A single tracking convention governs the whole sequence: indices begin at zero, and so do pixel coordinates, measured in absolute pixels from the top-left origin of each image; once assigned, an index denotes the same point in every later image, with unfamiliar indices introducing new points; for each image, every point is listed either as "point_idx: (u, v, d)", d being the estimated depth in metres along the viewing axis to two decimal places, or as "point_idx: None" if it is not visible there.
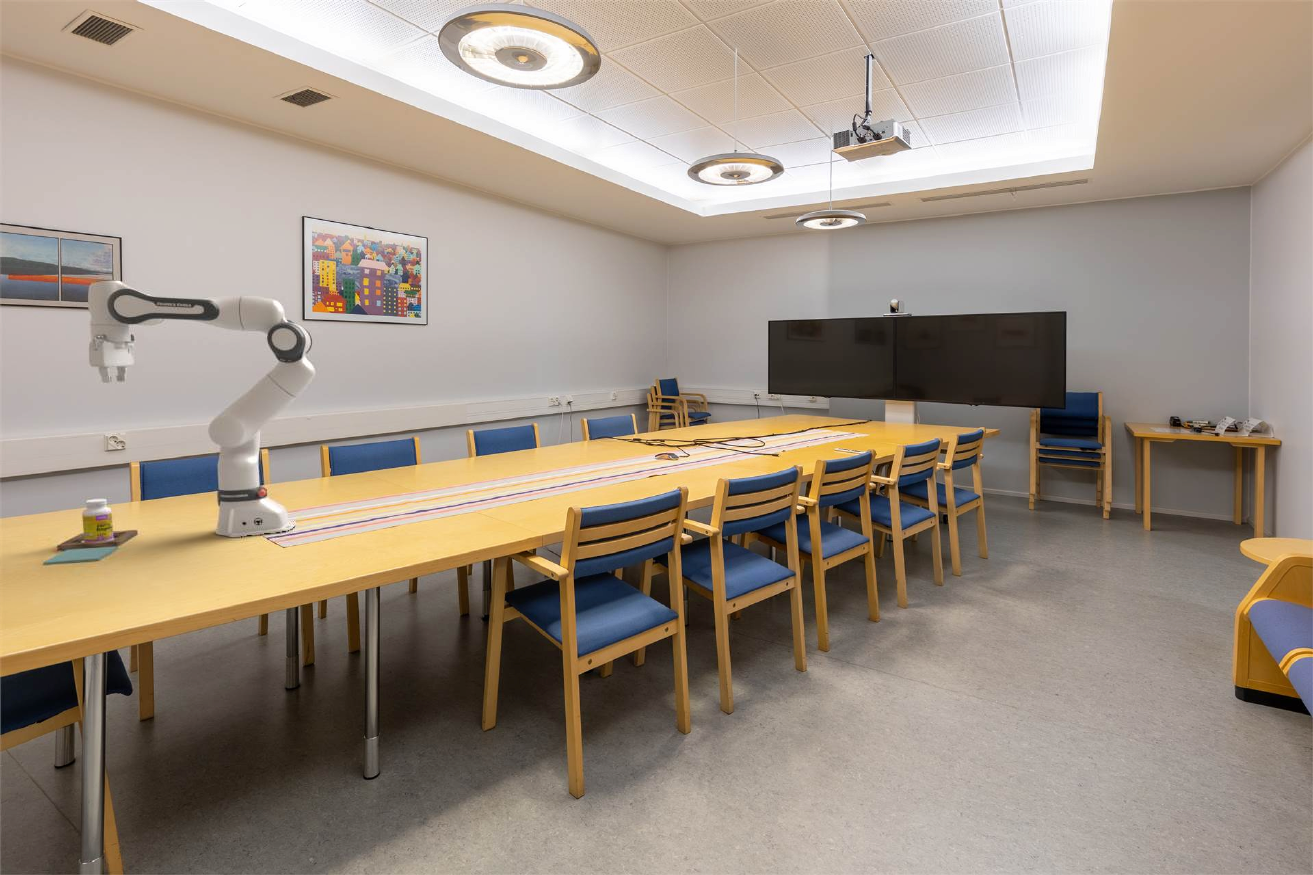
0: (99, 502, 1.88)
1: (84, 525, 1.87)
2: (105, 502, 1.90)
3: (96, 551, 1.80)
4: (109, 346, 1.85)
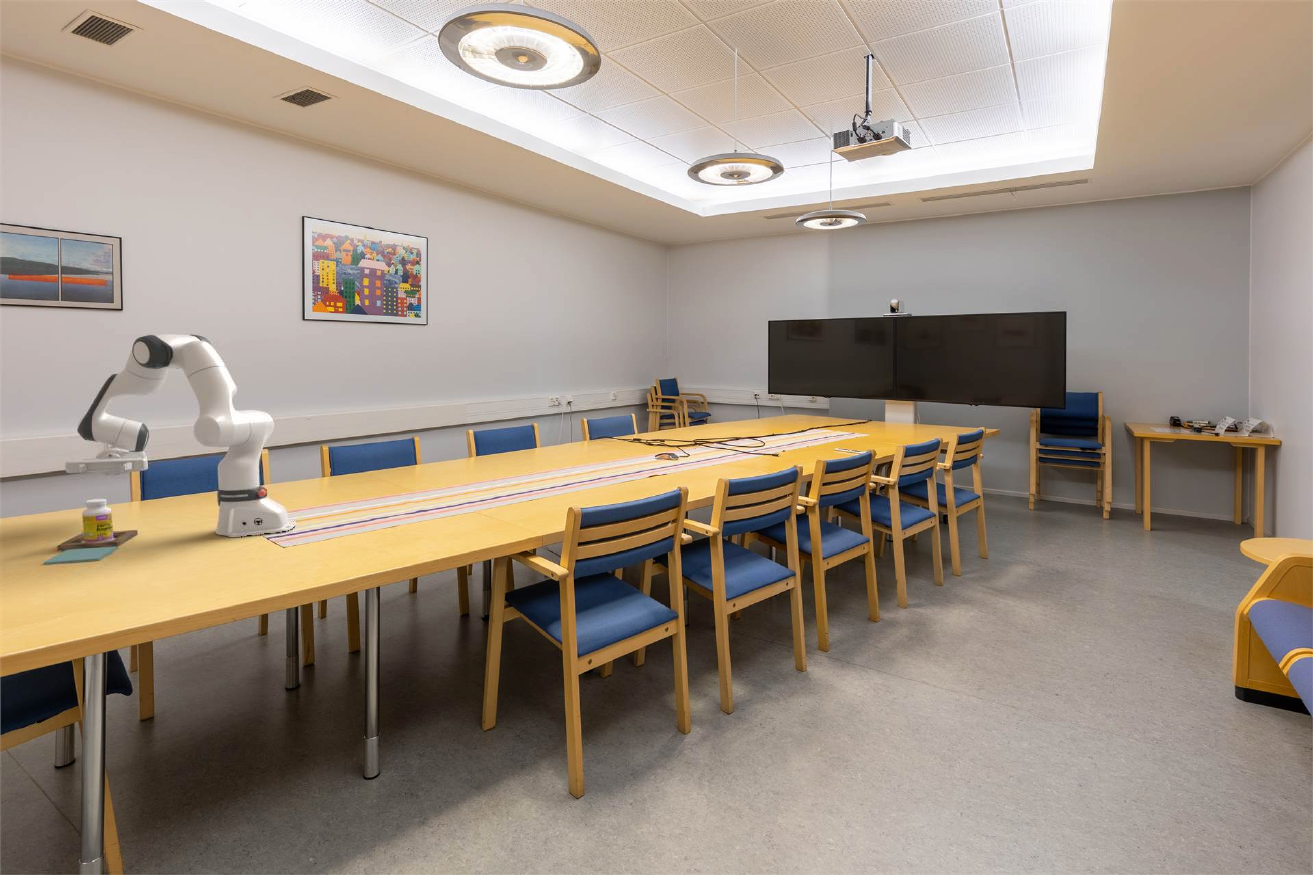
0: (99, 502, 1.88)
1: (84, 525, 1.87)
2: (105, 502, 1.90)
3: (96, 551, 1.80)
4: (86, 458, 2.04)
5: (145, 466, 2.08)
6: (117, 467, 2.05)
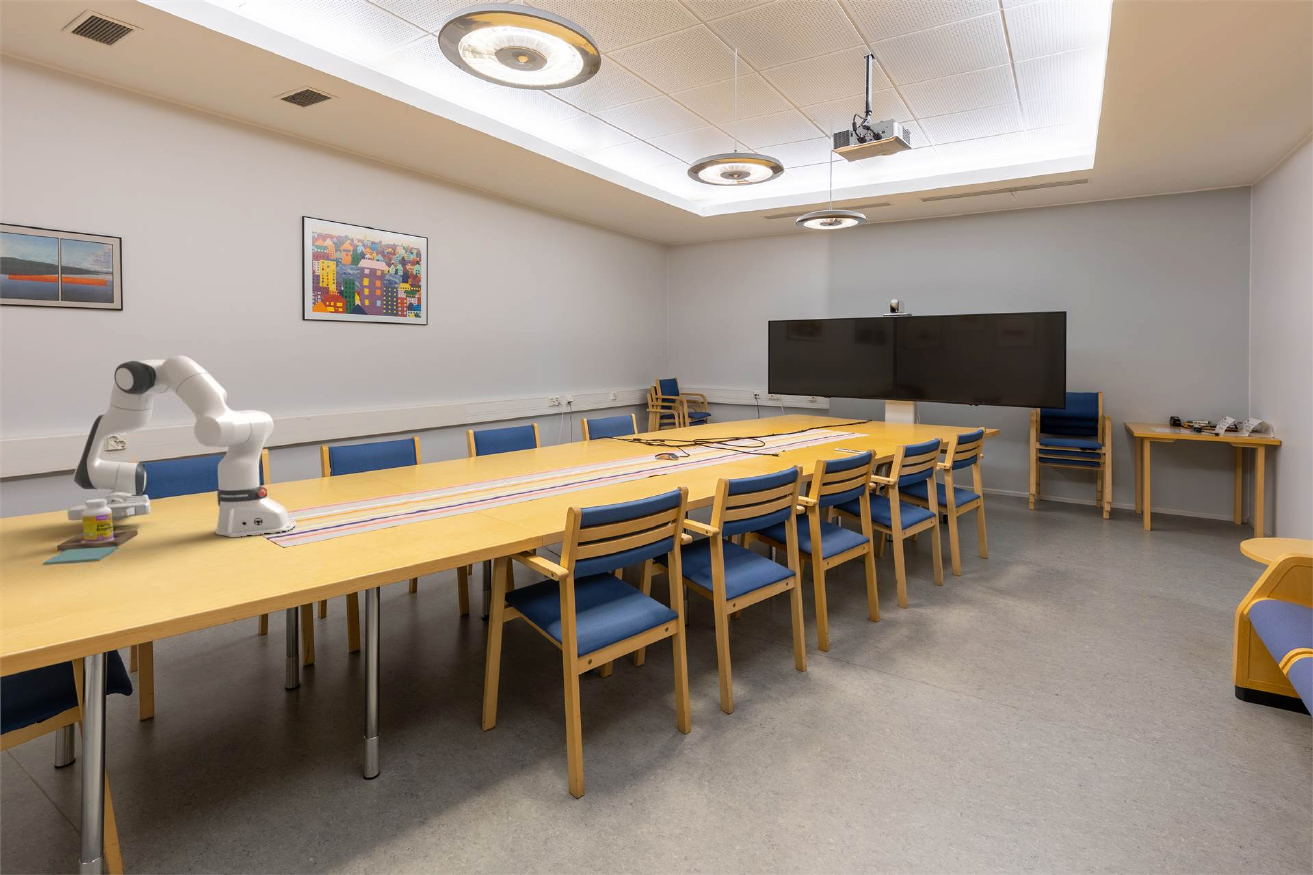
0: (99, 502, 1.88)
1: (84, 525, 1.87)
2: (105, 502, 1.90)
3: (96, 551, 1.80)
4: None
5: (148, 510, 2.07)
6: (120, 512, 2.03)
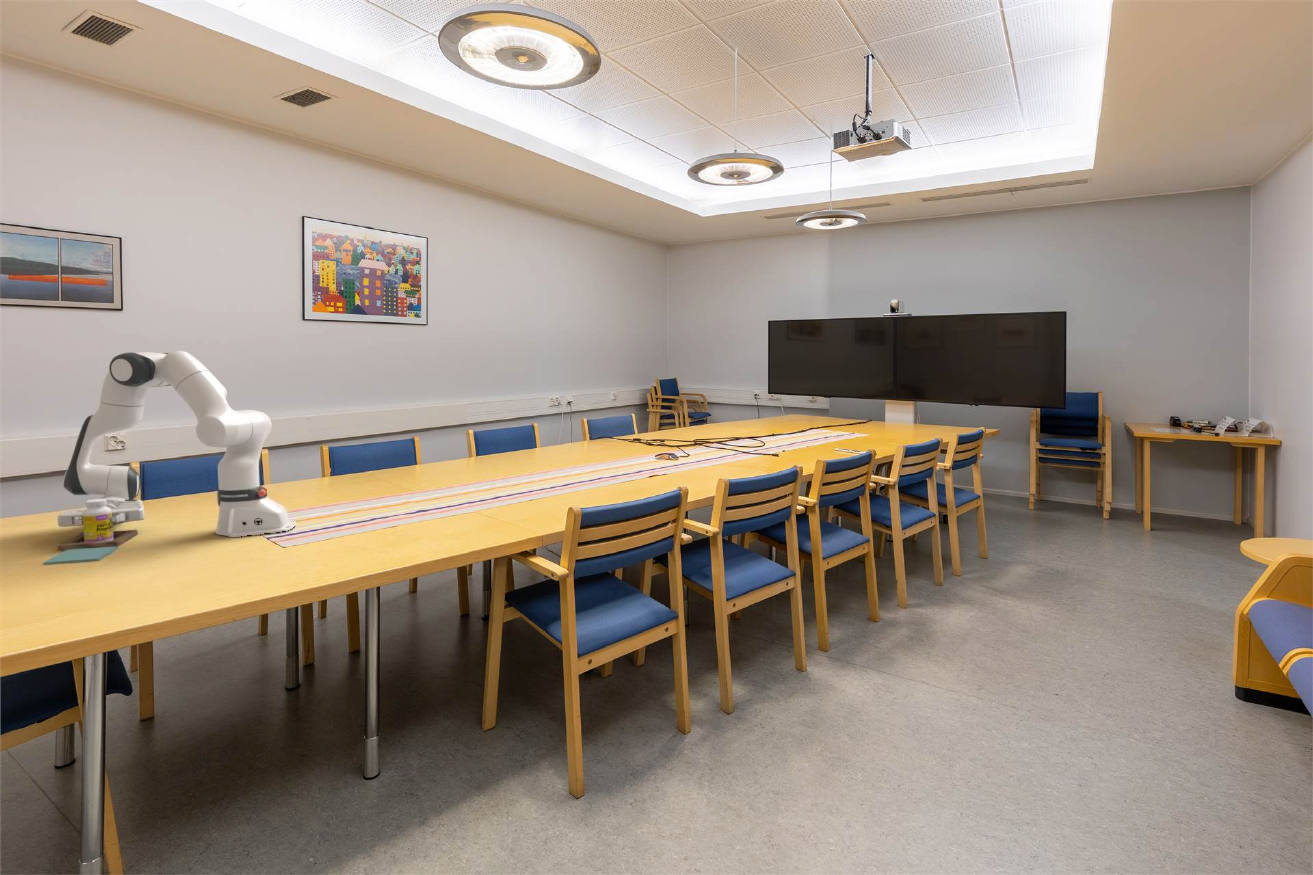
0: (99, 502, 1.88)
1: (84, 525, 1.87)
2: (105, 502, 1.90)
3: (96, 551, 1.80)
4: (79, 510, 1.95)
5: (141, 516, 1.99)
6: None
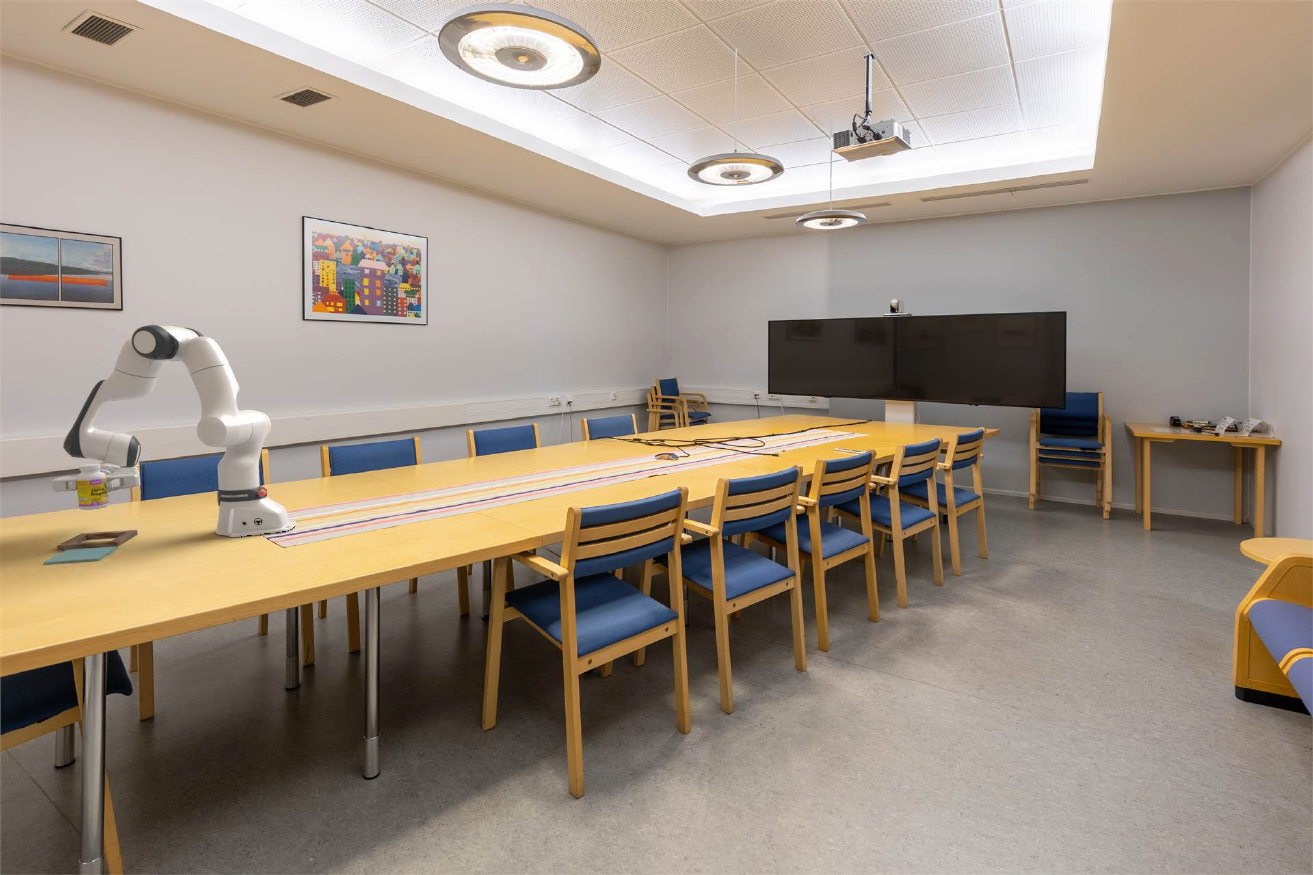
0: (93, 466, 1.85)
1: (78, 490, 1.84)
2: (99, 467, 1.86)
3: (96, 551, 1.80)
4: None
5: (137, 482, 1.95)
6: None
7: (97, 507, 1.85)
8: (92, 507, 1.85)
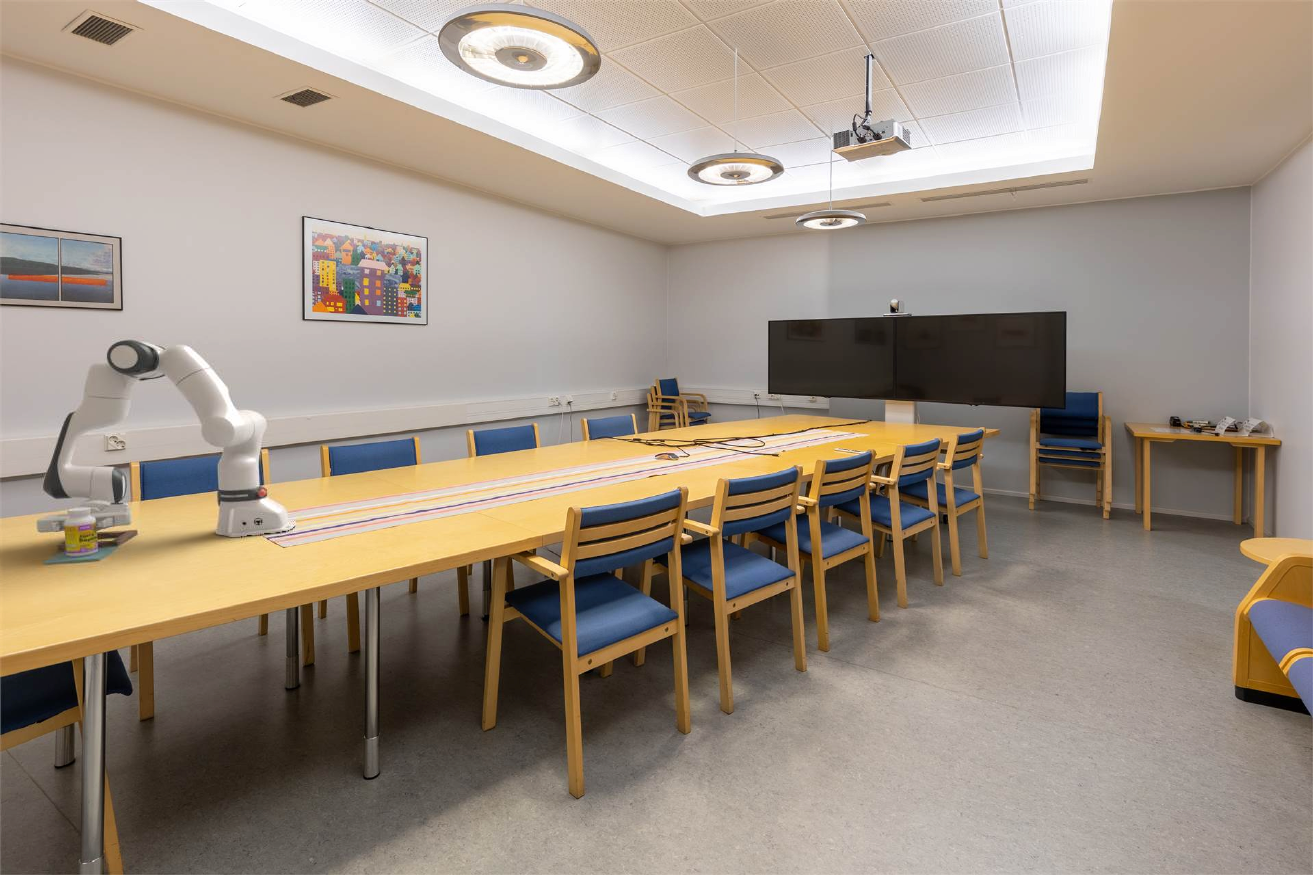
0: (82, 511, 1.75)
1: (66, 536, 1.74)
2: (89, 511, 1.77)
3: None
4: (61, 514, 1.82)
5: (128, 521, 1.85)
6: (96, 523, 1.82)
7: (85, 554, 1.76)
8: (80, 554, 1.75)
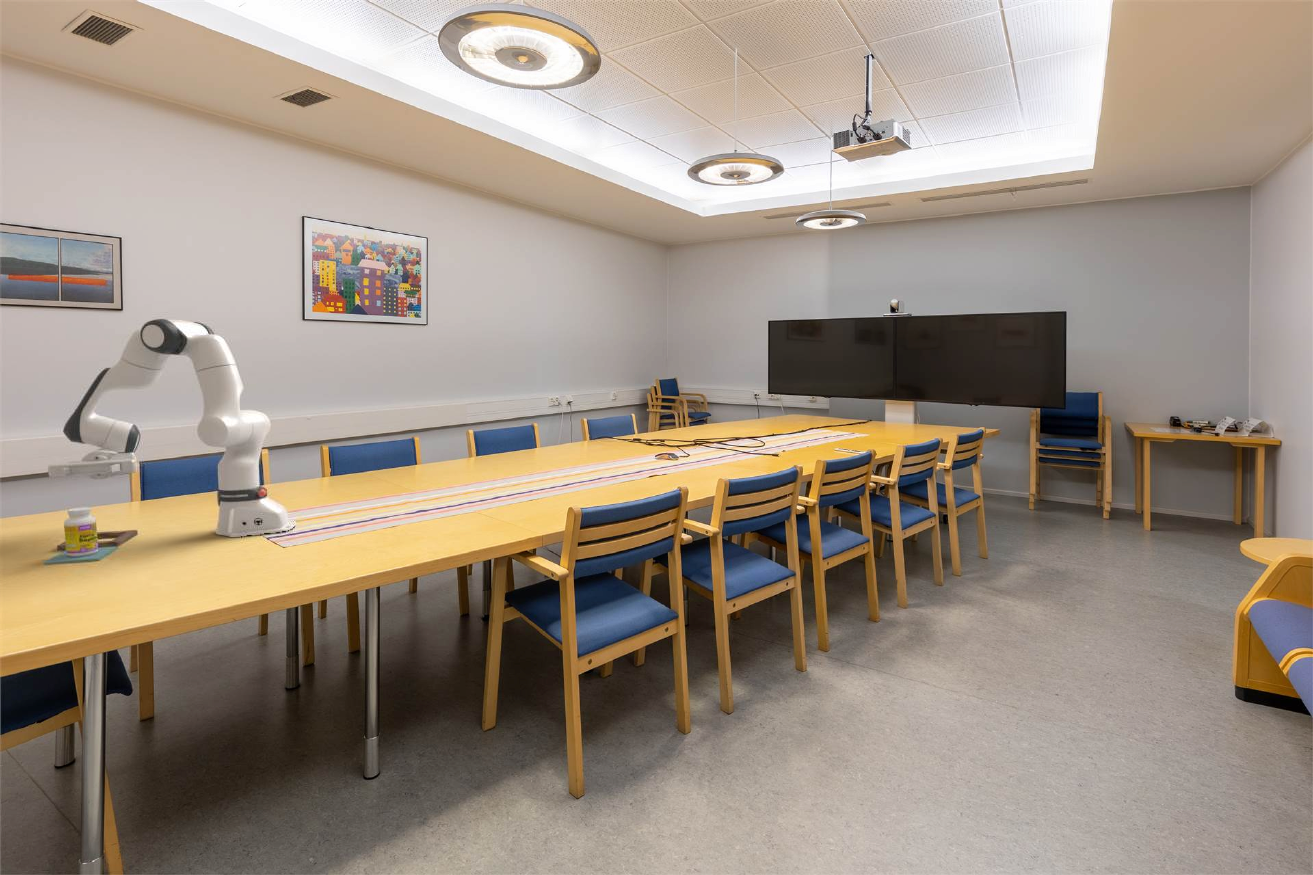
0: (82, 511, 1.75)
1: (66, 536, 1.74)
2: (89, 511, 1.77)
3: None
4: None
5: (134, 467, 1.95)
6: (104, 469, 1.91)
7: (85, 554, 1.76)
8: (80, 554, 1.75)
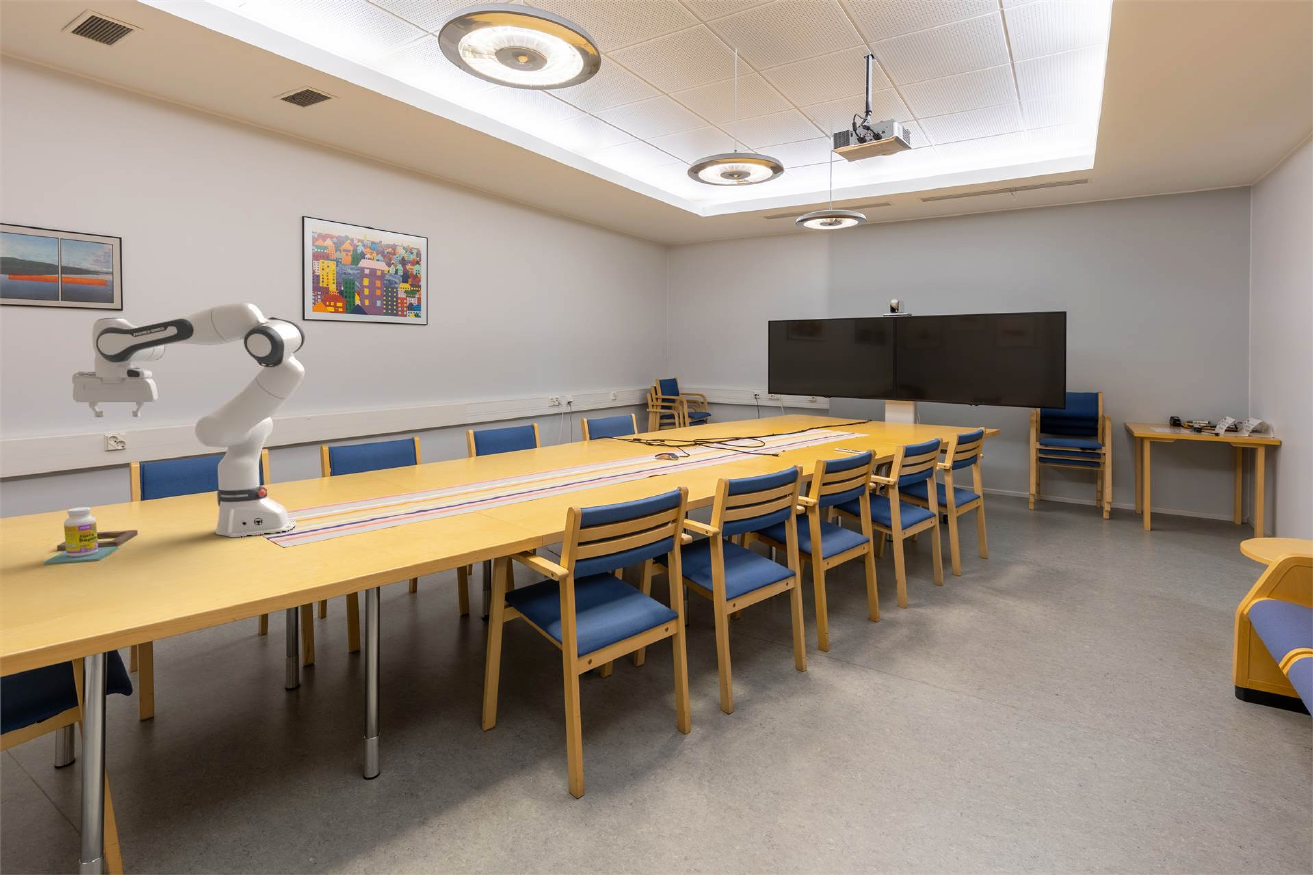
0: (82, 511, 1.75)
1: (66, 536, 1.74)
2: (89, 511, 1.77)
3: None
4: (87, 382, 1.90)
5: (155, 400, 1.99)
6: None
7: (85, 554, 1.76)
8: (80, 554, 1.75)
